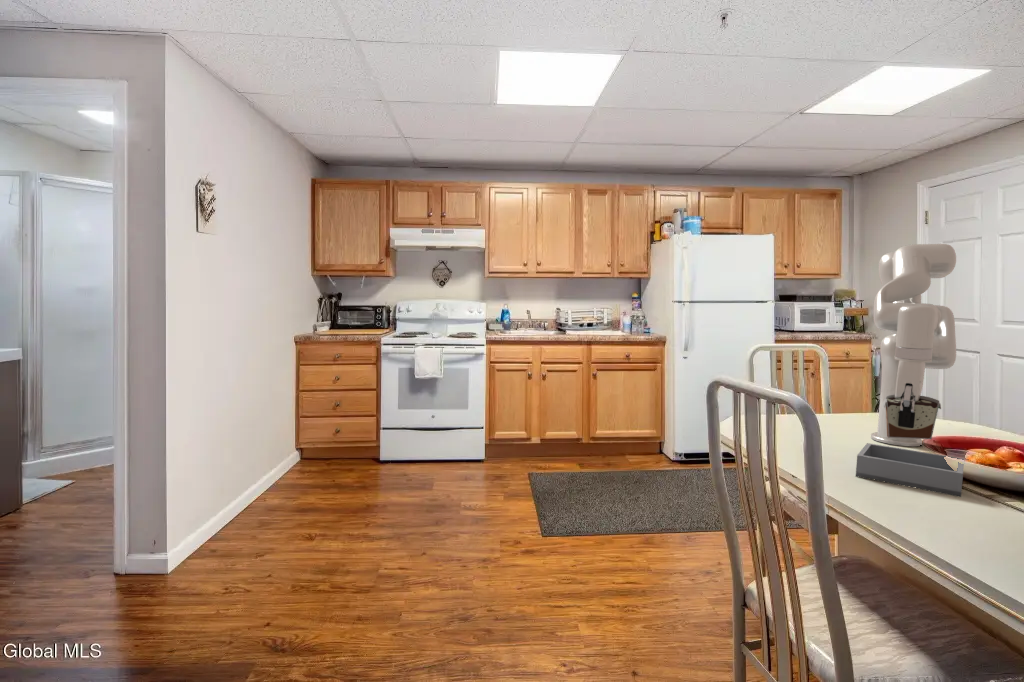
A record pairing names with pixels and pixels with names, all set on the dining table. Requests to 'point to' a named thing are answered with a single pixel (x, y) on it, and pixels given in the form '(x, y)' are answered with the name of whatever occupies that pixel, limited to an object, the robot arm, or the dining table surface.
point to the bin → (909, 468)
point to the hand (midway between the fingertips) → (907, 423)
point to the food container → (922, 423)
